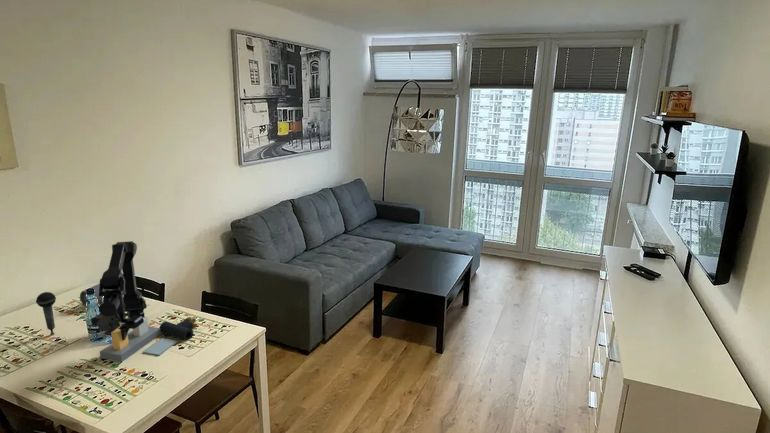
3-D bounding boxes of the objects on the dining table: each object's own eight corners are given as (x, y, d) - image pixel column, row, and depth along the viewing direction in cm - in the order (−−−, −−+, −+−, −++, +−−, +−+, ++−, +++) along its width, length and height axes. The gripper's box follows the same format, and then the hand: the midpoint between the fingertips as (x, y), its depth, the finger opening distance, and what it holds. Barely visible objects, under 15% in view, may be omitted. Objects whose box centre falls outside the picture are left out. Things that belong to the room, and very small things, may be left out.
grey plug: (134, 341, 188) (132, 322, 186) (143, 335, 193) (141, 317, 190) (140, 342, 187) (138, 323, 185) (149, 336, 192) (147, 318, 190)
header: (100, 358, 175) (99, 351, 175) (141, 331, 196) (141, 325, 195) (121, 361, 173) (120, 355, 173) (161, 334, 194) (160, 328, 193)
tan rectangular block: (113, 352, 177) (111, 332, 175) (122, 346, 182) (119, 326, 179) (120, 353, 177) (118, 333, 174) (129, 346, 181) (126, 327, 179)
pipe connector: (180, 312, 203) (204, 320, 197) (181, 323, 205) (205, 330, 199) (158, 324, 193) (183, 332, 187) (160, 334, 195) (184, 343, 189)
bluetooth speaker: (122, 289, 237) (119, 272, 234) (134, 292, 234) (132, 275, 231) (80, 307, 216) (77, 288, 214) (93, 311, 213) (90, 292, 211)
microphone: (39, 336, 190) (31, 293, 184) (57, 329, 195) (49, 288, 190) (48, 340, 186) (39, 297, 181) (65, 333, 192) (58, 291, 187)
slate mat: (142, 352, 180) (142, 351, 180) (161, 339, 190) (161, 338, 190) (159, 355, 178) (159, 354, 178) (177, 341, 188) (177, 340, 188)
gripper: (77, 312, 167) (83, 348, 171) (123, 315, 165) (128, 352, 169) (99, 299, 178) (104, 333, 182) (142, 302, 176) (146, 337, 180)
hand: (120, 339), depth 178 cm, fingers closed on tan rectangular block, 3 cm apart
